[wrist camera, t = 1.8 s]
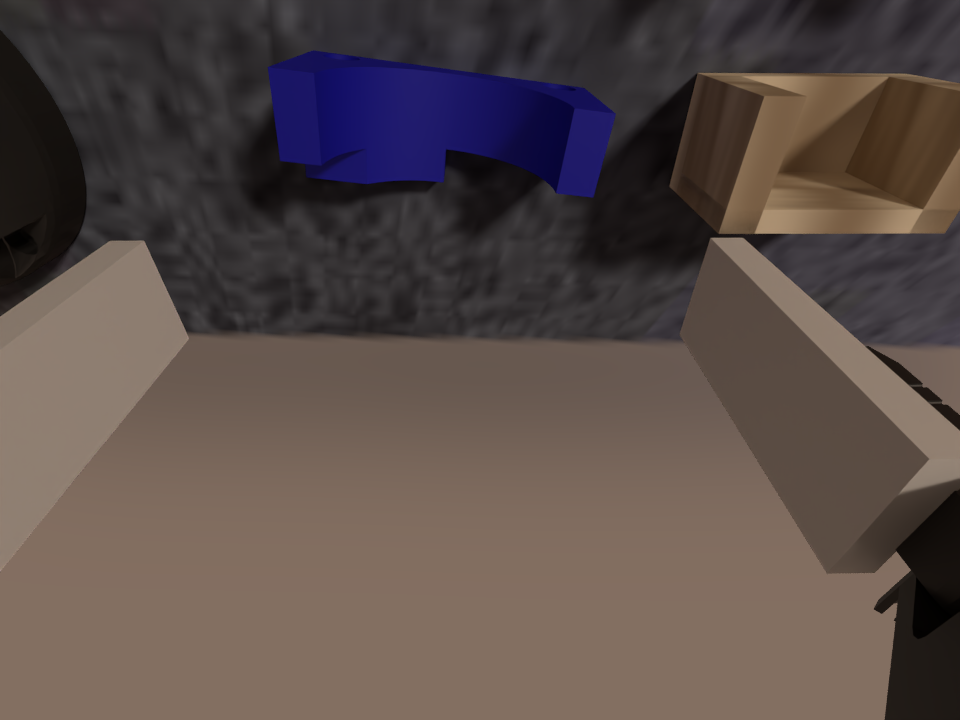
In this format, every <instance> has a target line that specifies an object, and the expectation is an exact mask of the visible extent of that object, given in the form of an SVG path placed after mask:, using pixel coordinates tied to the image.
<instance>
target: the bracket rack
mask: <svg viewBox="0 0 960 720" xmlns="http://www.w3.org/2000/svg"><path fill="white" fill-rule="evenodd" d="M669 187H670V188H671V189H672V190H673V191H674V192H676V193H677V194H678V195H679V196H680V197H681V198H682V199H683V200H684V201H685V202H686V203H687V204H688V205H689V206H690V207H691V208H692V209H693V210H694V211H695V212H696V213H697V214H698V215H699V216H700V217H702V218H703V219H704V220H705V221H706V222H707V223H708V224H709V225H710V226H711V227H712V228H713V229H714V230H715V231H716V232H717V233H718V234H833V233H945V232H946V230H947V229H948V227H949V226H950V224H951V222H952V221H953V219H954V218H955V216H956V215H957V213H958V212H959V210H960V84H959V83H954V82H948V81H943V80H937V79H932V78H927V77H921V76H916V75H910V74H835V73H698V74H697V78H696V82H695V86H694V90H693V94H692V98H691V102H690V106H689V110H688V114H687V118H686V122H685V126H684V130H683V134H682V138H681V142H680V146H679V150H678V154H677V158H676V162H675V166H674V170H673V174H672V178H671V182H670V186H669Z"/></svg>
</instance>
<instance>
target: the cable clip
mask: <svg viewBox="0 0 960 720" xmlns="http://www.w3.org/2000/svg"><path fill="white" fill-rule="evenodd" d="M268 72H269V79H270V87H271V94H272V102H273V110H274V117H275V125H276V132H277V140H278V147H279V155H280V161H285V162H294V163H302V164H305V168H306V177H308V178H317V179H326V180H335V181H343V182H352V183H361V184H371V183H378V182H386V181H404V180H418V181H434V182H444V175H445V161H446V149H448V150H455V151H462V152H467V153H472V154H477V155H482V156H486V157H490V158H494V159H497V160H501V161H504V162H507V163H510V164H513V165H516V166H518V167H521V168H523V169H525V170H528V171H530V172H532V173H534V174H535V175H537V176H539V177H540V178H542V179H543V180H545V181H546V182H547V183H548V184H550V185H551V187H552V188H553V189H554V190H555V192H556V193H558V194H567V195H576V196H584V197H594V193H595V189H596V186H597V182H598V178H599V175H600V171H601V167H602V163H603V160H604V156H605V152H606V148H607V145H608V141H609V137H610V134H611V130H612V126H613V122H614V119H615V115H616V114H615V113H614V112H613V111H612V110H610V109H609V108H608V107H607V106H606V105H604V104H603V103H602V102H601V101H599V100H598V99H597V98H596V97H594V96H593V95H592V94H591V93H590V92H588V91H587V90H586V89H585V88H580V87H573V86H566V85H558V84H551V83H544V82H537V81H529V80H522V79H515V78H508V77H500V76H493V75H486V74H479V73H472V72H464V71H457V70H450V69H443V68H435V67H428V66H421V65H414V64H406V63H399V62H392V61H385V60H378V59H370V58H363V57H356V56H349V55H341V54H334V53H327V52H320V51H311V52H308V53H305V54H302V55H300V56H297V57H294V58H292V59H289V60H286V61H283V62H281V63H278V64H275V65H272V66H270V67H268Z"/></svg>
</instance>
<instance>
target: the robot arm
mask: <svg viewBox="0 0 960 720" xmlns="http://www.w3.org/2000/svg"><path fill="white" fill-rule="evenodd" d="M85 204H86V189H85V180H84V173H83V169H82V164H81V160H80V157H79V154H78V150H77V147H76V145H75V142H74V140H73V137H72V135H71V132H70V130H69V128H68V126H67V124H66V121H65V120H64V118H63V116H62V114H61V112H60V110H59V108H58V106H57V105H56V103H55V101H54V100H53V98H52V96H51V95H50V93H49V92H48V90H47V88H46V87H45V85H44V84H43V82H42V81H41V79H40V78H39V77H38V75H37V74H36V73H35V71H34V70H33V68H32V67H31V66H30V64H29V63H28V62H27V61H26V59H25V58H24V57H23V56H22V54H21V53H20V52H19V51H18V49H17V48H16V47H15V46H14V45H13V44H12V43H11V41H10V40H9V39H8V38H7V37H6V36H5V35H4V34H3V33H2V31H1V30H0V286H3V285H6V284H9V283H11V282H14V281H16V280H19V279H21V278H23V277H25V276H27V275H29V274H31V273H32V272H34V271H35V270H37V269H39V268H40V267H42V266H43V265H45V264H46V263H48V262H49V261H51V260H53V259H54V258H56V257H57V256H59V255H60V254H61V253H62V252H63V251H65V250H66V249H67V248H68V246H69V245H70V244H71V243H72V242H73V240H74V239H75V237H76V235H77V233H78V231H79V229H80V227H81V224H82V221H83V217H84V212H85ZM680 336H681V338H682V339H683V341H684V343H685V344H686V346H687V348H688V349H689V351H690V352H691V354H692V356H693V357H694V359H695V360H696V362H697V364H698V365H699V367H700V369H701V370H702V372H703V373H704V375H705V377H706V378H707V380H708V382H709V383H710V385H711V386H712V388H713V390H714V391H715V393H716V394H717V396H718V398H719V399H720V401H721V402H722V404H723V406H724V407H725V409H726V411H727V412H728V414H729V416H730V417H731V419H732V420H733V422H734V424H735V425H736V427H737V429H738V430H739V432H740V433H741V435H742V437H743V438H744V440H745V441H746V442H747V445H748V446H749V448H750V450H751V451H752V453H753V454H754V456H755V458H756V459H757V461H758V462H759V464H760V466H761V467H762V469H763V471H764V472H765V474H766V475H767V477H768V479H769V480H770V482H771V483H772V485H773V487H774V488H775V490H776V491H777V493H778V495H779V496H780V498H781V500H782V501H783V503H784V504H785V506H786V508H787V509H788V511H789V513H790V514H791V516H792V518H793V519H794V521H795V522H796V524H797V526H798V527H799V529H800V530H801V532H802V534H803V535H804V537H805V539H806V540H807V542H808V543H809V545H810V547H811V548H812V550H813V551H814V553H815V554H816V556H817V558H818V560H819V561H820V563H821V565H822V566H823V568H824V569H825V571H826V572H827V573H875V572H876V571H877V570H878V569H879V568H880V567H881V566H882V565H883V564H884V563H885V562H886V561H887V560H888V559H889V558H890V557H891V556H892V555H893V554H894V553H895V552H896V551H897V552H898V554H899V555H900V556H901V558H902V559H903V560H904V561H905V563H906V564H907V565H908V567H909V568H910V569H911V571H910V572H909V573H908V574H907V575H906V576H904V577H903V578H902V579H901V580H900V581H899V582H898V583H897V584H895V585H894V586H893V587H892V588H891V589H890V590H889V591H888V592H887V593H886V594H884V595H883V596H882V597H881V598H880V599H879V600H878V602H877V604H876V606H875V608H874V610H876V611H878V612H880V613H881V614H882V613H883V612H885V611H886V610H887V609H888V608H889V607H890V606H891V605H893V604H894V603H898V605H897V614H896V618H895V619H894V621H896V623H895V632H894V641H893V650H892V659H891V668H890V677H889V686H888V695H887V705H886V714H885V720H960V415H959V414H958V413H956V412H955V411H954V410H953V409H952V408H951V407H949V406H948V405H943V404H942V400H941V399H940V398H939V397H938V396H937V395H935V394H934V393H933V392H932V391H931V390H930V389H929V388H927V387H926V388H923V387H922V383H921V382H920V381H919V380H918V379H917V378H916V377H914V376H913V375H912V374H911V373H910V372H909V371H908V370H906V369H905V368H904V367H903V366H902V365H900V364H899V363H898V362H896V361H894V360H892V359H890V358H889V357H887V356H885V355H883V354H881V353H880V352H878V351H876V350H874V349H872V348H871V347H869V346H864V345H863V344H862V343H861V342H860V341H858V340H857V339H856V338H855V337H854V336H853V335H852V334H851V333H849V332H848V331H847V330H846V329H845V328H844V327H843V326H842V325H840V324H839V323H838V322H837V321H836V320H835V319H834V318H833V317H831V316H830V315H829V314H828V313H827V312H826V311H825V310H824V309H822V308H821V307H820V306H819V305H818V304H817V303H816V302H815V301H813V300H812V299H811V298H810V297H809V296H808V295H807V294H806V293H804V292H803V291H802V290H801V289H800V288H799V287H798V286H797V285H795V284H794V283H793V282H792V281H791V280H790V279H789V278H788V277H786V276H785V275H784V274H783V273H782V272H781V271H780V270H779V269H777V268H776V267H775V266H774V265H773V264H772V263H771V262H770V261H769V260H767V259H766V258H765V257H764V256H763V255H762V254H761V253H760V252H758V251H757V250H756V249H755V248H754V247H753V246H752V245H751V244H749V243H748V242H747V241H746V240H745V239H744V238H710V241H709V244H708V247H707V250H706V254H705V257H704V260H703V263H702V266H701V269H700V272H699V275H698V279H697V282H696V285H695V288H694V291H693V294H692V297H691V300H690V304H689V307H688V310H687V313H686V316H685V319H684V322H683V325H682V328H681V332H680ZM188 340H189V337H188V335H187V333H186V331H185V328H184V326H183V324H182V322H181V320H180V318H179V315H178V313H177V311H176V309H175V307H174V305H173V302H172V300H171V298H170V296H169V294H168V292H167V289H166V287H165V285H164V283H163V281H162V279H161V277H160V274H159V272H158V270H157V268H156V266H155V264H154V261H153V259H152V257H151V255H150V253H149V251H148V248H147V246H146V244H145V242H144V241H109V242H108V243H106V244H105V245H104V246H102V247H101V248H99V249H98V250H96V251H95V252H93V253H92V254H90V255H89V256H88V257H86V258H85V259H83V260H82V261H80V262H79V263H77V264H76V265H75V266H73V267H72V268H70V269H69V270H67V271H66V272H64V273H63V274H61V275H60V276H59V277H57V278H56V279H54V280H53V281H51V282H50V283H48V284H47V285H45V286H44V287H43V288H41V289H40V290H38V291H37V292H35V293H34V294H32V295H31V296H29V297H28V298H27V299H25V300H24V301H22V302H21V303H19V304H18V305H16V306H15V307H13V308H12V309H11V310H9V311H8V312H6V313H5V314H3V315H2V316H0V571H1V570H2V569H3V567H4V566H5V565H6V564H7V563H8V561H9V560H10V559H11V558H12V556H13V555H14V554H15V553H16V552H17V550H18V549H19V548H20V547H21V545H22V544H23V543H24V542H25V540H26V539H27V538H28V537H29V535H30V534H31V533H32V532H33V531H34V529H35V528H36V527H37V526H38V524H39V523H40V522H41V521H42V520H43V518H44V517H45V516H46V515H47V513H48V512H49V511H50V510H51V508H52V507H53V506H54V504H56V502H57V501H58V500H59V499H60V497H61V496H62V495H63V493H64V492H65V491H66V490H67V489H68V488H69V486H70V485H71V484H72V483H73V481H74V480H75V479H76V478H77V476H78V475H79V474H80V473H81V471H82V470H83V469H84V468H85V467H86V465H87V464H88V463H89V462H90V460H91V459H92V458H93V457H94V456H95V454H96V453H97V452H98V451H99V449H100V448H101V447H102V446H103V444H104V443H105V442H106V441H107V439H108V438H109V437H110V436H111V435H112V433H113V432H114V431H115V429H116V428H117V427H118V426H119V425H120V423H121V422H122V421H123V419H124V418H125V417H126V416H127V415H128V414H129V412H130V411H131V410H132V409H133V407H134V406H135V405H136V404H137V402H138V401H139V400H140V399H141V397H142V396H143V395H144V394H145V393H146V391H147V390H148V389H149V388H150V386H151V385H152V384H153V383H154V381H155V380H156V379H157V378H158V376H159V375H160V374H161V373H162V372H163V370H164V369H165V368H166V367H167V366H168V364H169V363H170V362H171V361H172V359H173V358H174V357H175V356H176V354H177V353H178V352H179V351H180V350H181V348H182V347H183V346H184V345H185V343H186V342H187V341H188Z"/></svg>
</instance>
